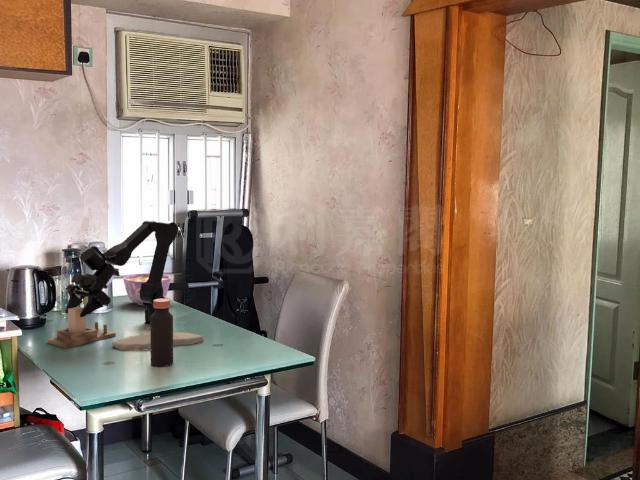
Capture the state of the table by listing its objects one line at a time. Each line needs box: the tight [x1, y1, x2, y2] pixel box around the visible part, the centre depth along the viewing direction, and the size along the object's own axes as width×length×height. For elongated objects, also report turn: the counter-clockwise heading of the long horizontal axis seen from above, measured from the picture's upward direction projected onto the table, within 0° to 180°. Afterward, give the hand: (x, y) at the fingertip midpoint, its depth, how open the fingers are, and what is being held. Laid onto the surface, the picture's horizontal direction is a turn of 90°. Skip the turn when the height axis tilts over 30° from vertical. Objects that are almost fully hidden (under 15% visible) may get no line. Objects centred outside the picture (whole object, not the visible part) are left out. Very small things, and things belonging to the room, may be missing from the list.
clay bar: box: [67, 306, 87, 334], centre depth 230 cm, size 4×4×10 cm
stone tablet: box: [111, 331, 204, 351], centre depth 231 cm, size 16×30×2 cm, turn 121°
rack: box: [47, 321, 117, 349], centre depth 232 cm, size 20×10×4 cm, turn 144°
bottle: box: [149, 298, 174, 368], centre depth 205 cm, size 7×7×20 cm
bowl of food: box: [123, 273, 172, 306], centre depth 290 cm, size 20×20×12 cm
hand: (73, 314), depth 228 cm, fingers open, 8 cm apart
